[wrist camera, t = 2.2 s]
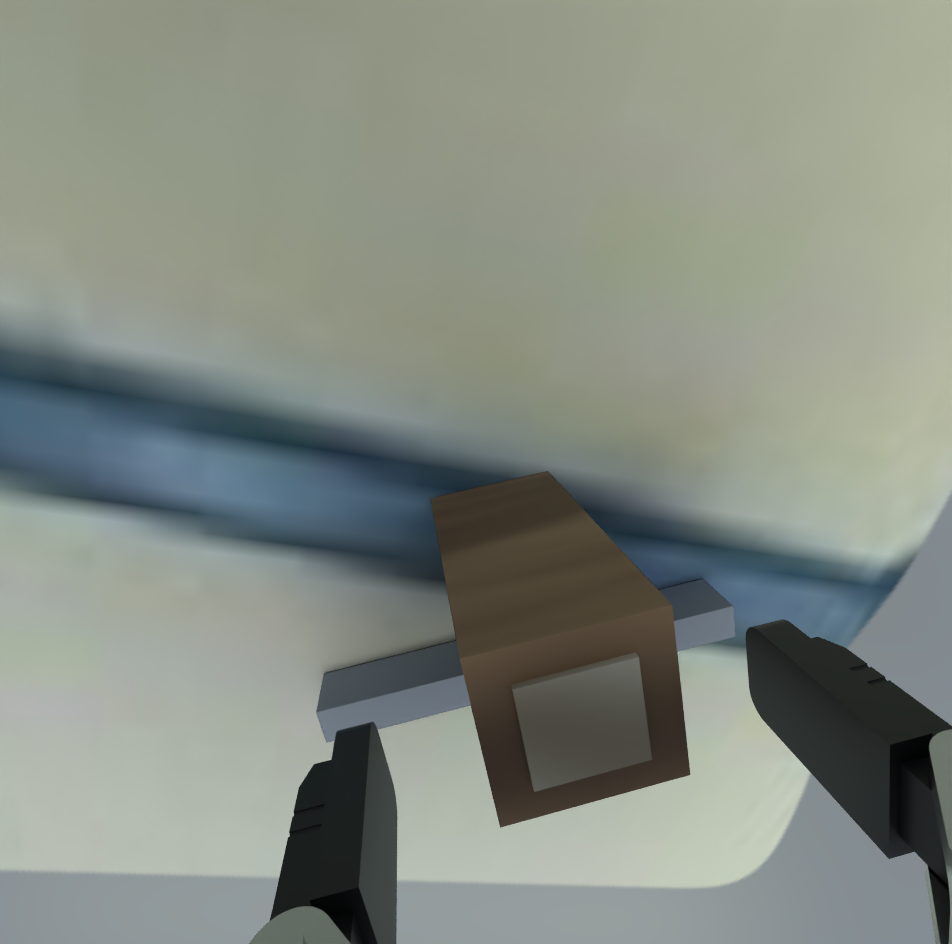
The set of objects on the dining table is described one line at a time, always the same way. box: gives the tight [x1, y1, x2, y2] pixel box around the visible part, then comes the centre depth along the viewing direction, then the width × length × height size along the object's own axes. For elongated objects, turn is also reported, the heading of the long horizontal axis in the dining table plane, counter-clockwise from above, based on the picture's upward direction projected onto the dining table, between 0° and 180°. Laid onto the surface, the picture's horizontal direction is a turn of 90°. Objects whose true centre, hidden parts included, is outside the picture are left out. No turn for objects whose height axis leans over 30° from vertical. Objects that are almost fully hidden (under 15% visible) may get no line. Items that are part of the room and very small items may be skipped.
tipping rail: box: [316, 579, 735, 742], centre depth 20 cm, size 1×14×2 cm, turn 102°
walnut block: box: [430, 471, 690, 827], centre depth 15 cm, size 4×4×9 cm
